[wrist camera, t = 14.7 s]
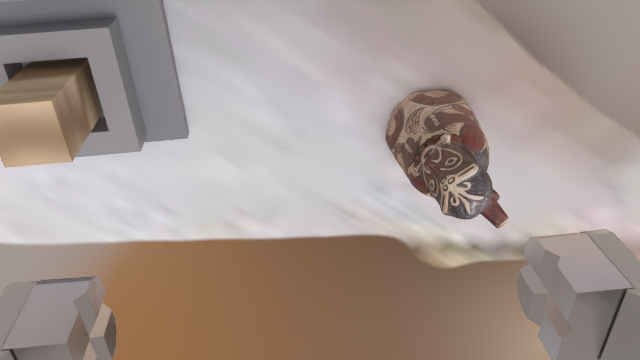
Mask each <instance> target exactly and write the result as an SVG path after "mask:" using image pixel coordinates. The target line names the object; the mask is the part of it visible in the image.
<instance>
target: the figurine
mask: <svg viewBox="0 0 640 360" xmlns="http://www.w3.org/2000/svg"><path fill="white" fill-rule="evenodd" d="M386 141H387V143H388V146H389V148H390V150H391V152H392V153H393V155H394V157H395V159H396V160H397V162H398V163H399V165H400V166H401V168H402V169H403V171H404V172H405V174H406V175H407V177H408V178H409V180H410V182H411V184H412V185H413V186H414V187H415V188H416V189H417V190H419V191H420V192H421V193H423V194H424V195H427V196H430V197H433V198H435V199H436V200H437V202H438V203H439V205H440V208H441V211H442V213H443V214H444V215H448V216H453V217H456V218H459V219H472V218H474V217H476V216H477V215H479V214H482V215H483V216H484V217H485V218H486V219H487V220H488V221H490V222H491V223H492V224H493V225H494V226H495V227H496V228H501V227H502V226H503V225H504V224H505V223H506V221H507V220H508V216H507V215H506V213H505V212H504V210H503V209H502V208H501V206H500V205H499V204H498V203H497V200H498V199H499V195H498V193H497V192H496V191H495V190H493V188H492V182H491V179H490V177H489V175H488V173H487V172H486V171H487V168H488V165H489V147H488V143H487V139H486V137H485V135H484V133H483V132H482V129H481V127H480V125H479V123H478V121H477V119H476V117H475V115H474V113H473V111H472V110H471V108H470V107H469V105H468V104H467V103H466V102H465V101H464V100H463V99H462V98H461V97H460V96H459V95H457V94H456V93H453V92H451V91H441V90H434V91H427V92H422V91H418V92H413V93H410V94H409V95H408V96H407V97H406V98H405V99H404V100H403V101H402V102H401V103H399V104H398V105H397V106H396V107H395V108H394V109H393V111H392V116H391V119H390V122H389V127H388V130H387V138H386Z"/></svg>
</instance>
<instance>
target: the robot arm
mask: <svg viewBox="0 0 640 360" xmlns="http://www.w3.org/2000/svg"><path fill="white" fill-rule="evenodd" d="M523 254H524V255H525V257H526V258H527V260H528V263H527V264H526V265H525V266H524V267H523V268H522V269H521V270H520V271H519V276H518V281H517V289H518V298H519V300H520V303H521V307H522V309H523V311H524V312H525V314H526V316H527V318H528V319H530V320H531V321H533V322H535V323H536V324H538V325H539V326H540V330H539V334H538V337H539V339H540V341H541V342H542V344H543V346H544V347H545V349H546V351H547V352H548V354H549V356H550V357H551V359H552V360H640V261H639V260H638V259H637V257H636V256H635V255H634V254H633V253H632V252H631V251H630V250H629V249H628V248H627V247H626V246H625V245H624V244H623V242H622V241H621V240H620V239H619V238H618V237H617V236H616V235H615V234H614V233H613V232H611V231H609V230H607V229H603V230H594V231H585V232H580V233H570V234H560V235H550V236H539V237H530V238H529V240H528V241H527V243H526V245H525V249H524V253H523ZM105 293H106V291H105V289H104V286H103V284H102V281H101V279H100V278H97V277H81V278H68V279H52V280H41V281H30V282H15V283H12V284H10V285H9V286H7V287H6V288H5V289H4V291H3V292H2V294H1V296H0V360H112V359H113V355H114V350H115V347H116V331H117V330H116V323H115V318H114V315H113V312H112V309H110V308H109V307H108V306H106V305H104V304H103V303H102V302H103V299H104V296H105Z"/></svg>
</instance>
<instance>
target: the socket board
mask: <svg viewBox="0 0 640 360" xmlns="http://www.w3.org/2000/svg"><path fill="white" fill-rule="evenodd" d="M84 57H88V61H89V64H90V68H91V71H92V75H93V78H94V81H95V85H96V88H97V92H98V95H99V99H100V102H101V106H102V109H103V113H102V114H101V116H100V118H99V119H98V121H97V122H96V124H95V126H94V127H93V129H92V131H91V132H90V134H89V135H88V137H87V139H86V140H85V142H84V143H83V145H82V147H81V148H80V150H79V151H78V153H77V155H76V156H75V157H83V156H94V155H105V154H116V153H127V152H139V151H141V149H142V147H143V144H144V142H151V141H162V140H174V139H185V138H188V134H189V131H188V126H187V121H186V116H185V111H184V106H183V101H182V96H181V91H180V86H179V81H178V77H177V72H176V67H175V62H174V57H173V52H172V47H171V42H170V37H169V32H168V27H167V22H166V17H165V12H164V7H163V2H162V0H0V88H1V87H2V86H3V85H5V84H6V83H7V82H8V81H9V80H10V79H11V78H13V77H14V76H15V75H16V74H17V73H18V72H19V71H20V70H22V69H23V68H24V67H25V66H26V65H27V64H28V63H30V62H33V61H46V60H59V59H72V58H84Z"/></svg>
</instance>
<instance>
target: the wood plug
mask: <svg viewBox="0 0 640 360" xmlns="http://www.w3.org/2000/svg"><path fill="white" fill-rule="evenodd" d="M102 113H103V109H102V106H101V102H100V99H99V95H98V92H97V88H96V85H95V81H94V78H93V75H92V71H91V68H90V64H89V61H88V57H84V58H72V59H59V60H46V61H33V62H30V63H28V64H27V65H26V66H25V67H24V68H23V69H22V70H20V71H19V72H18V73H17V74H16V75H15V76H14V77H13V78H11V79H10V80H9V81H8V82H7V83H6V84H5V85H3V86H2V87H1V88H0V157H1V159H2V162H3V164H4V166H5V168H7V167H18V166H29V165H40V164H51V163H62V162H72V161H73V160H74V158H75V156H76V155H77V153H78V151H79V150H80V148H81V147H82V145H83V143H84V142H85V140H86V139H87V137H88V135H89V134H90V132H91V131H92V129H93V127H94V126H95V124H96V122H97V121H98V119H99V118H100V116H101V114H102Z"/></svg>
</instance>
